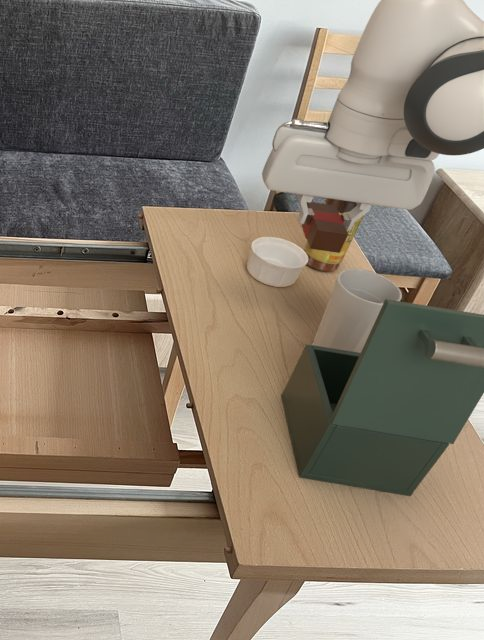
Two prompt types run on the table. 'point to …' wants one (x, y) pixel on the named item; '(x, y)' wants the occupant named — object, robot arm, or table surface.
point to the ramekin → (276, 261)
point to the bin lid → (416, 373)
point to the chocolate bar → (325, 228)
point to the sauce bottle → (332, 259)
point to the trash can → (347, 432)
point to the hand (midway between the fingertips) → (323, 225)
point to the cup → (354, 309)
